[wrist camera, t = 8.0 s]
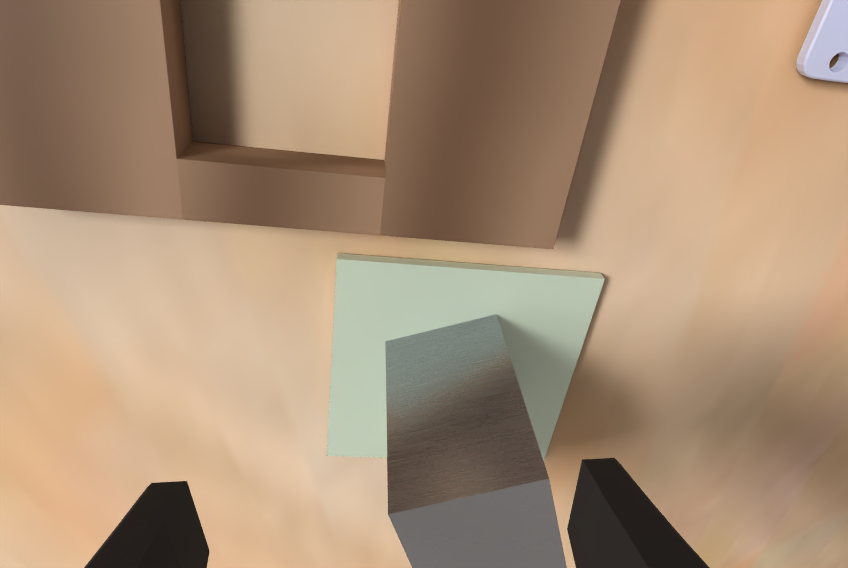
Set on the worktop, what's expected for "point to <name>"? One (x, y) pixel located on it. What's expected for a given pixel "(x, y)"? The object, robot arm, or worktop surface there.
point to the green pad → (443, 306)
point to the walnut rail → (297, 171)
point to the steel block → (465, 454)
